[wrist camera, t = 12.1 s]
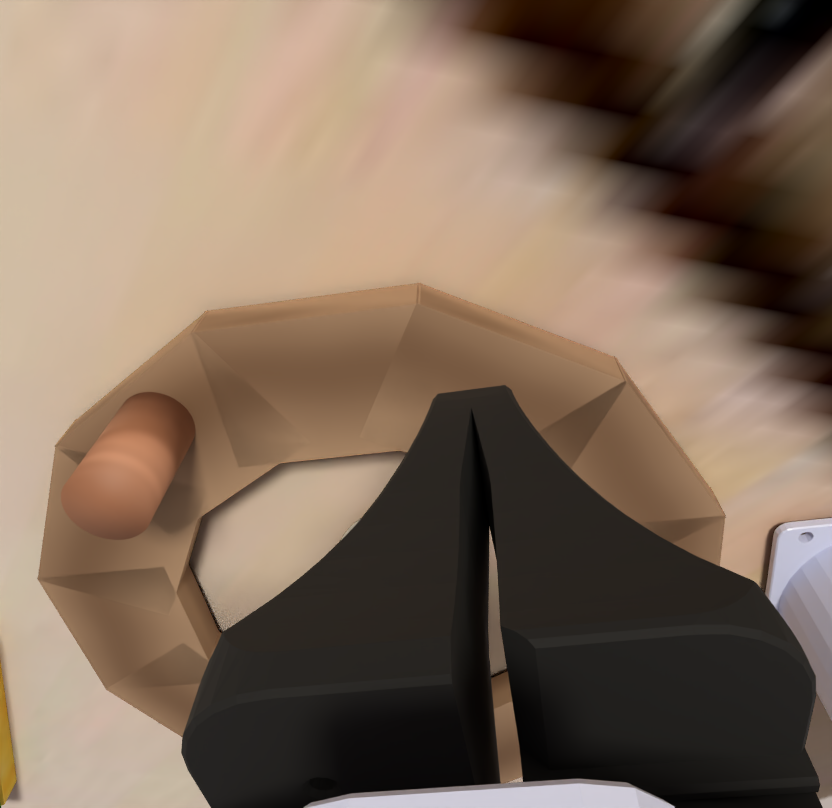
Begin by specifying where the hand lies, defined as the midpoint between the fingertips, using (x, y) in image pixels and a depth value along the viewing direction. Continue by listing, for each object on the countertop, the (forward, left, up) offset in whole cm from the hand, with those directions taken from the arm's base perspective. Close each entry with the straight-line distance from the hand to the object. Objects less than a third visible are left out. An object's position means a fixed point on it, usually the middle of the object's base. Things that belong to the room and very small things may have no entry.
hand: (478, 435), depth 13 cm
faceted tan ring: (+5, +13, -9) cm, 17 cm away
